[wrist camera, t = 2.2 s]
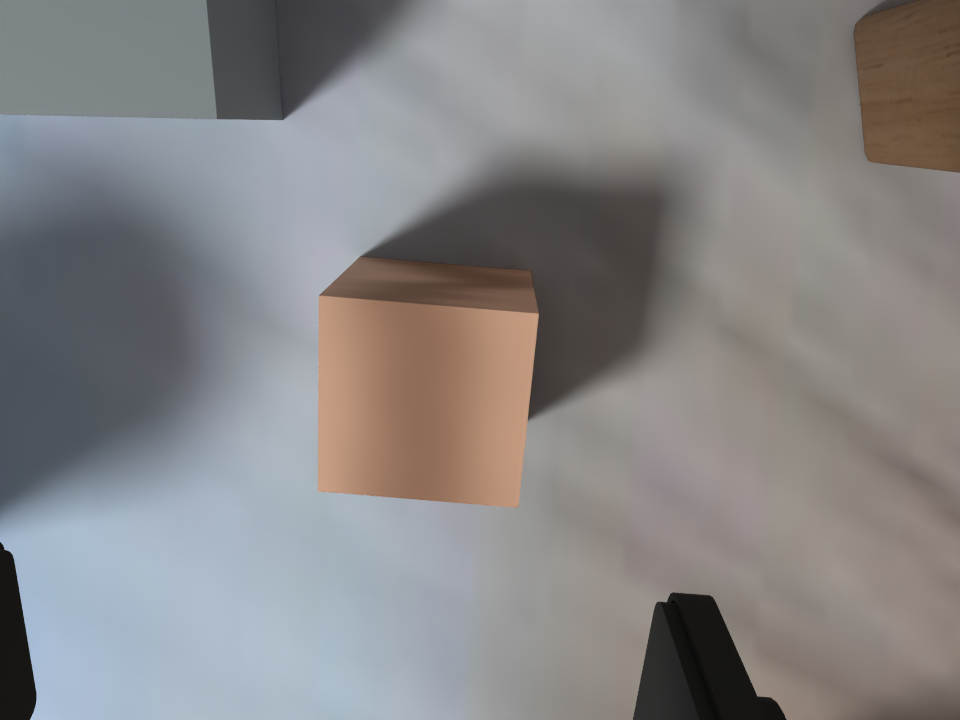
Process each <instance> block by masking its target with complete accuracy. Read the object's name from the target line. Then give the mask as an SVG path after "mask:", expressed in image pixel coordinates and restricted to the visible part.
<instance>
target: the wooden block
mask: <svg viewBox="0 0 960 720" xmlns="http://www.w3.org/2000/svg"><path fill="white" fill-rule="evenodd" d="M854 40H855V51H856V62H857V72H858V83H859V94H860V105H861V116H862V127H863V137H864V148H865V154H866V156H867V158H868V160H869V161H870V162H874V163H882V164H891V165H899V166H908V167H917V168H925V169H934V170H943V171H951V172H960V0H917V1H913V2H910V3H907V4H903V5H900V6H897V7H893V8H890V9H886V10H883V11H880V12H876V13H873V14H870V15H866V16H865V17H864V18H862V19H861V20H860V21H858V22H857V23H856V25H855V30H854Z"/></svg>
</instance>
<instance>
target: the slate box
mask: <svg viewBox="0 0 960 720" xmlns="http://www.w3.org/2000/svg"><path fill="white" fill-rule="evenodd" d="M0 114H9V115H55V116H101V117H147V118H193V119H249V120H283V112H282V96H281V80H280V65H279V49H278V33H277V17H276V2H275V0H0Z"/></svg>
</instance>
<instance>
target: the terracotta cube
mask: <svg viewBox="0 0 960 720" xmlns="http://www.w3.org/2000/svg"><path fill="white" fill-rule="evenodd" d="M538 317H539V312H538V307H537V301H536V296H535V291H534V286H533V281H532V276H531V271H529V270H516V269H504V268H492V267H480V266H468V265H455V264H443V263H431V262H419V261H407V260H394V259H382V258H370V257H359V258H358V259H357V260H356V261H355V262H354V263H353V264H352V265H351V266H350V267H349V268H348V269H347V270H346V271H344V272H343V273H342V274H341V275H340V276H339V277H338V278H337V279H336V280H335V281H334V282H333V283H332V284H331V285H330V286H329V287H328V288H327V289H326V290H324V291H323V292H322V293H321V294H320V295H319V405H318V491H322V492H334V493H346V494H358V495H370V496H382V497H395V498H407V499H419V500H431V501H443V502H455V503H467V504H479V505H491V506H503V507H515V508H518V505H519V495H520V486H521V477H522V467H523V458H524V449H525V439H526V430H527V420H528V411H529V402H530V392H531V383H532V373H533V364H534V355H535V345H536V336H537V327H538Z"/></svg>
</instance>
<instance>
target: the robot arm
mask: <svg viewBox="0 0 960 720" xmlns="http://www.w3.org/2000/svg"><path fill="white" fill-rule="evenodd" d="M35 705H36V688H35V682H34V676H33V670H32V664H31V659H30V653H29V647H28V641H27V635H26V629H25V623H24V617H23V611H22V605H21V599H20V593H19V587H18V581H17V575H16V569H15V563H14V558H13V555H12V554H11V553H10V552H9V551H6V550H4V547H3V545H2V543H1V542H0V720H30V718H31V716H32V714H33V712H34V708H35ZM633 720H786V718H785V716H784V713H783V712H782V710H781V708H780V707H779V705H778V703H777V702H776V701H774V700H773V699H772V698H769V697H757V695H756V692H755V690H754V688H753V685H752V683H751V681H750V679H749V676H748V674H747V672H746V670H745V667H744V665H743V663H742V661H741V658H740V656H739V654H738V652H737V649H736V647H735V645H734V642H733V640H732V638H731V636H730V633H729V631H728V629H727V627H726V624H725V622H724V620H723V618H722V615H721V613H720V611H719V609H718V606H717V604H716V602H715V600H714V599H713V597H711V596H710V595H697V594H685V593H671V594H670V596H669V598H668V601H667V602H657V603H656V605H655V609H654V613H653V618H652V624H651V629H650V634H649V639H648V644H647V649H646V655H645V660H644V665H643V670H642V675H641V681H640V686H639V691H638V696H637V701H636V707H635V712H634V717H633Z"/></svg>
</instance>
